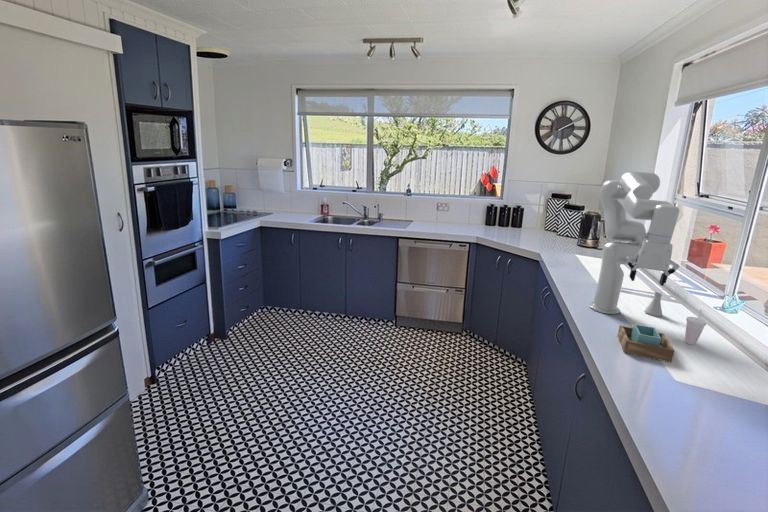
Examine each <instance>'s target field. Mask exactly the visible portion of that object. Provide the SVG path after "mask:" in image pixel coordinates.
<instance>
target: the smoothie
mask: <svg viewBox="0 0 768 512" xmlns="http://www.w3.org/2000/svg"><path fill="white" fill-rule="evenodd" d="M702 312H703V310H702V309H700V310H699V313H698V315H697V317H694V316H687V317H686V319H685V321H686V323H685V324H686V325H685V327H686V328H685V333H684V343H686V344H688V345H691V346H696V345H697V343H698V341H699V339H700V337H701V334H702V333H703V330H704V329H705V327H706V326H707V324H708V323H707V321H706V320H704V319H702V318H701V315H702Z"/></svg>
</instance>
